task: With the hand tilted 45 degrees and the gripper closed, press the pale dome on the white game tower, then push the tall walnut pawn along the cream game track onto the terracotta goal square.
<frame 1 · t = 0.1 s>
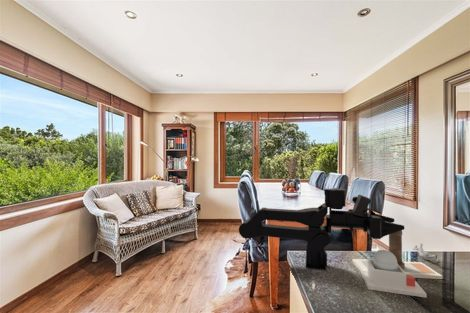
hand: (398, 223, 77), 17 cm above the countertop, tool horizontal, fingers open, 9 cm apart
dome: (385, 260, 71), point 7 cm above the countertop, slide at 0.0 cm
game track: (393, 269, 81), on the countertop
pawn: (395, 245, 81), point 8 cm above the countertop, slide at 0.0 cm
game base: (391, 285, 71), on the countertop
soldier figure: (425, 260, 89), on the countertop
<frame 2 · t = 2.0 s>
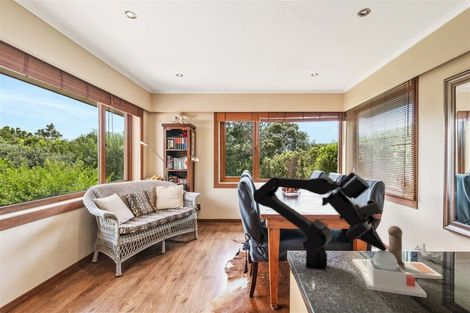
hand: (385, 250, 71), 10 cm above the countertop, tool tilted 45°, fingers closed, pressing on dome
dome: (385, 261, 71), point 7 cm above the countertop, slide at 0.1 cm, touching gripper
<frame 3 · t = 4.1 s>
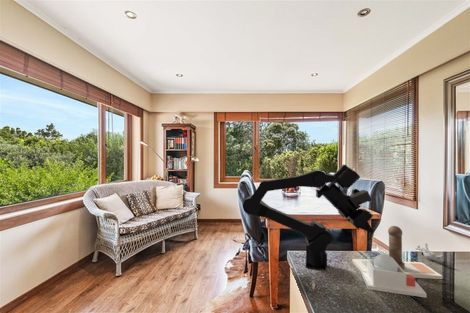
hand: (372, 231, 81), 13 cm above the countertop, tool tilted 45°, fingers closed
dome: (385, 264, 71), point 6 cm above the countertop, slide at 1.3 cm
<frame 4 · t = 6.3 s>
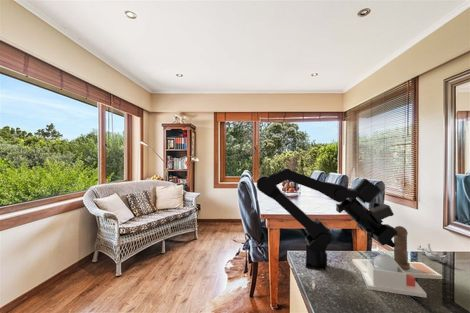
hand: (393, 246, 81), 8 cm above the countertop, tool tilted 45°, fingers closed, pressing on pawn
pawn: (400, 246, 81), point 8 cm above the countertop, slide at 1.6 cm, touching gripper
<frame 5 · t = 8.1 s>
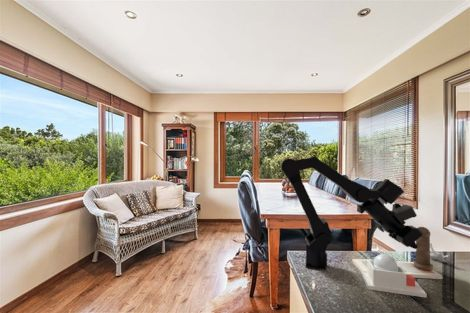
hand: (416, 247, 80), 8 cm above the countertop, tool tilted 45°, fingers closed, pressing on pawn
pawn: (422, 247, 80), point 8 cm above the countertop, slide at 8.5 cm, touching gripper
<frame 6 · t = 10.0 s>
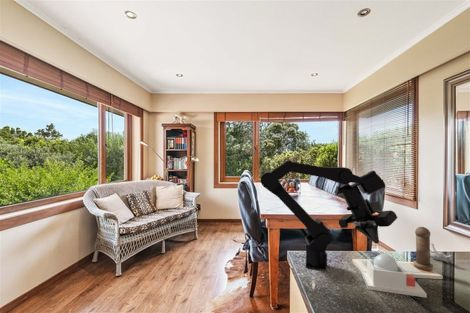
hand: (377, 242, 81), 9 cm above the countertop, tool tilted 25°, fingers closed
pawn: (422, 247, 80), point 8 cm above the countertop, slide at 8.5 cm
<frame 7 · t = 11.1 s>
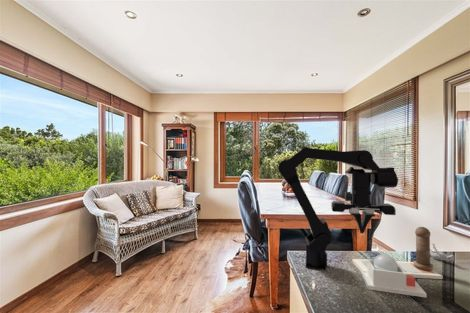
hand: (361, 233, 82), 12 cm above the countertop, tool pointing down, fingers closed
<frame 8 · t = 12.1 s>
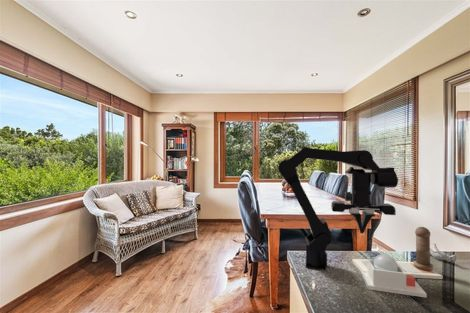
hand: (361, 233, 82), 12 cm above the countertop, tool pointing down, fingers closed
at the end: dome slide at 1.3 cm; pawn slide at 8.5 cm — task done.
